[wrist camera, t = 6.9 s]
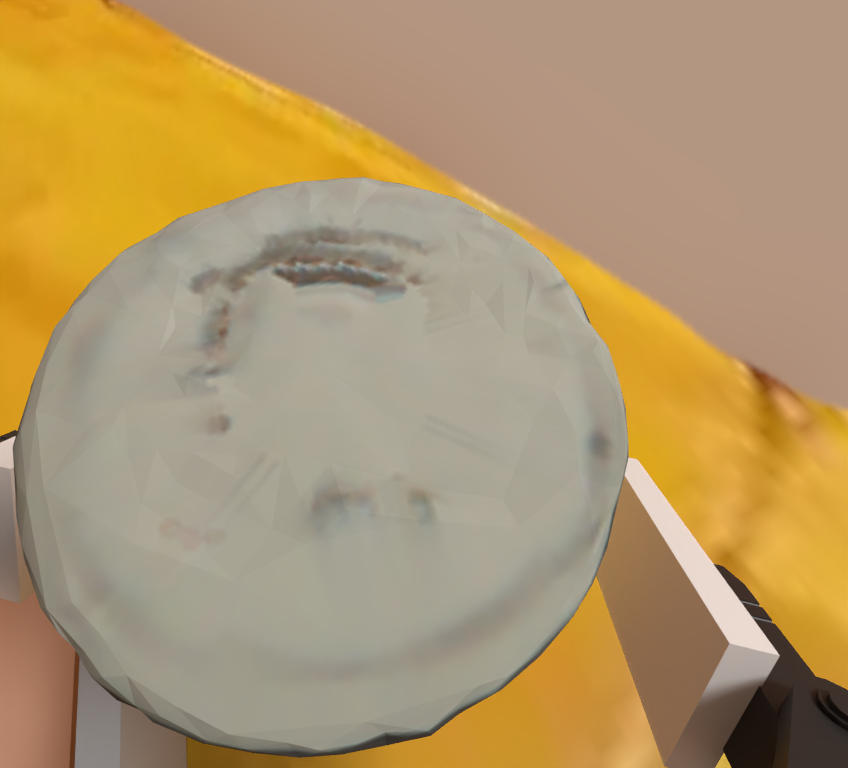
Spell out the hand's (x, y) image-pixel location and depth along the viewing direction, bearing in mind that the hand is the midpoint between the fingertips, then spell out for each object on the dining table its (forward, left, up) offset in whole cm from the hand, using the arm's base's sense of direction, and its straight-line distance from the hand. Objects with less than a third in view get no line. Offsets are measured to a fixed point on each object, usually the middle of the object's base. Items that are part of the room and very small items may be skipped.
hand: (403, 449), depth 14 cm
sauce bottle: (+1, +2, -9) cm, 10 cm away
